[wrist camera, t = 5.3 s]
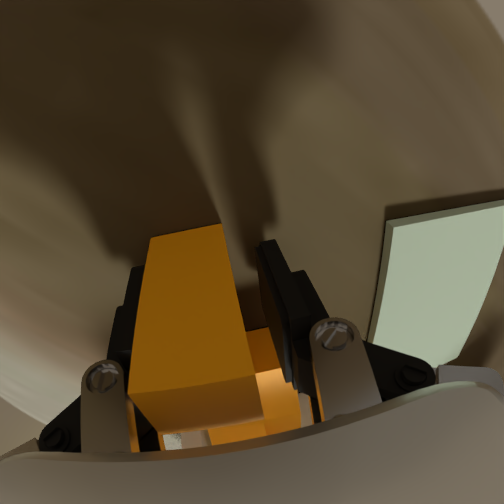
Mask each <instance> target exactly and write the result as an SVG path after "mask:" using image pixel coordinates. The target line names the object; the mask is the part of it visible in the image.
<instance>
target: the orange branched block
mask: <svg viewBox="0 0 504 504" xmlns="http://www.w3.org/2000/svg"><path fill="white" fill-rule="evenodd" d="M128 395H129V397H130V398H131V399H132V401H133V402H134V403H135V404H136V406H137V407H138V408H139V410H140V411H141V412H142V413H143V415H144V416H145V417H146V418H147V420H148V421H149V422H150V423H151V425H152V426H153V427H154V428H155V429H156V431H157V432H158V433H159V434H160V435H165V434H175V433H184V432H192V431H200V430H208V433H209V436H210V440H211V444H212V445H218V444H225V443H231V442H237V441H242V440H248V439H253V438H258V437H263V436H268V435H272V434H277V433H281V432H285V431H290V430H294V429H298V428H301V411H300V405H299V399H298V392H297V390H294V388H293V385H292V382H289V383H286V382H285V379H284V376H283V373H282V370H281V367H280V363H279V360H278V357H277V354H276V350H275V347H274V344H273V341H272V337H271V334H270V331H269V327H267V328H262V329H257V330H253V331H248V332H245V328H244V323H243V319H242V315H241V310H240V306H239V301H238V297H237V292H236V288H235V283H234V279H233V274H232V269H231V265H230V260H229V256H228V251H227V246H226V242H225V237H224V232H223V227H222V223H221V224H216V225H210V226H206V227H201V228H196V229H191V230H186V231H181V232H176V233H171V234H167V235H162V236H157V237H153V238H151V239H150V244H149V249H148V254H147V259H146V264H145V270H144V275H143V281H142V287H141V292H140V299H139V305H138V311H137V318H136V325H135V332H134V339H133V347H132V356H131V364H130V374H129V384H128Z"/></svg>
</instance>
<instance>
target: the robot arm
mask: <svg viewBox="0 0 504 504" xmlns="http://www.w3.org/2000/svg"><path fill="white" fill-rule="evenodd" d="M255 256H256V263H257V271H258V278H259V285H260V292H261V300H262V306H263V311H264V314H265V318H266V321H267V324H268V327H269V331H270V334H271V337H272V341H273V344H274V347H275V350H276V354H277V357H278V360H279V363H280V367H281V370H282V373H283V376H284V379H285V382H286V383H289V382H292V385H293V388H294V390H297V389H298V391H299V392H301V393H304V394H306V395H308V399H309V405H310V412H311V418H312V425H309V426H305V427H302V428H298V429H294V430H290V431H285V432H281V433H277V434H272V435H268V436H263V437H258V438H253V439H248V440H242V441H237V442H231V443H225V444H218V445H211V446H204V447H196V448H187V449H177V450H166V449H165V445H164V440H163V435H160V434H159V433H158V432H157V431H156V429H155V428H154V427H153V426H152V425H151V423H150V422H149V421H148V420H147V418H146V417H145V416H144V415H143V413H142V412H141V411H140V410H139V408H138V407H137V406H136V404H135V403H134V402H133V401H132V399H131V398H130V397H129V395H128V384H129V374H130V364H131V356H132V347H133V339H134V332H135V325H136V318H137V311H138V305H139V299H140V292H141V287H142V281H143V275H144V270H145V265H143V266H138V267H133V268H132V269H131V272H130V277H129V281H128V285H127V290H126V294H125V299H124V304H123V306H119V307H117V310H116V313H115V318H114V323H113V327H112V332H111V337H110V342H109V348H108V353H107V359H106V360H101V361H99V362H96V363H94V364H93V365H91V366H90V367H89V368H88V369H87V370H86V371H85V373H84V375H83V377H82V382H81V395H80V396H79V397H78V398H77V399H76V400H75V401H74V402H73V403H71V404H70V405H69V406H68V407H67V408H66V409H65V410H63V411H62V412H61V413H60V414H59V415H58V416H57V417H56V418H54V419H53V420H52V421H51V422H50V423H49V424H48V425H46V427H45V428H44V429H43V430H42V432H41V434H40V437H39V440H37V439H36V438H33V439H32V440H30V441H28V442H26V443H25V444H22V445H20V446H19V447H17V448H15V449H13V450H11V451H9V452H7V453H5V454H4V455H2V456H0V504H504V385H503V381H502V378H501V376H500V375H499V374H498V372H496V371H495V370H493V369H491V368H487V367H468V366H452V365H438V367H437V368H433V367H431V365H430V364H428V363H427V362H426V361H424V360H422V359H420V358H417V357H414V356H411V355H407V354H404V353H401V352H398V351H395V350H391V349H388V348H385V347H382V346H379V345H376V344H373V343H370V342H367V341H364V340H362V339H361V336H360V333H359V331H358V329H357V327H356V326H355V325H354V324H353V323H352V322H350V321H348V320H346V319H343V318H337V317H335V318H330V317H329V315H328V313H327V311H326V310H325V308H324V306H323V304H322V302H321V300H320V298H319V296H318V294H317V292H316V291H315V289H314V287H313V285H312V283H311V281H310V279H309V277H308V275H307V274H306V272H305V271H304V270H301V271H296V272H291V271H290V269H289V267H288V265H287V263H286V261H285V259H284V257H283V255H282V252H281V250H280V248H279V246H278V244H277V242H276V240H275V239H273V240H268V241H262V242H260V246H258V247H255Z"/></svg>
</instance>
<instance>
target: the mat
mask: <svg viewBox="0 0 504 504" xmlns="http://www.w3.org/2000/svg"><path fill="white" fill-rule="evenodd" d="M503 246H504V200H499V201H493V202H487V203H482V204H476V205H471V206H465V207H460V208H454V209H449V210H443V211H438V212H432V213H427V214H421V215H416V216H410V217H405V218H399V219H394V220H388V221H386V229H385V237H384V246H383V253H382V261H381V268H380V275H379V281H378V287H377V293H376V299H375V305H374V310H373V315H372V320H371V325H370V330H369V335H368V340H367V342H370V343H373V344H376V345H379V346H382V347H385V348H388V349H391V350H395V351H398V352H401V353H404V354H407V355H411V356H414V357H417V358H420V359H422V360H424V361H426V362H427V363H428V364H430V365H431V367H433V368H436V367H438V365H443V364H445V363H447V362H449V361H451V360H453V359H455V358H457V357H458V355H459V354H460V352H461V350H462V348H463V346H464V344H465V342H466V340H467V338H468V335H469V333H470V331H471V329H472V327H473V325H474V323H475V320H476V318H477V316H478V314H479V311H480V309H481V307H482V304H483V302H484V299H485V297H486V294H487V292H488V289H489V287H490V284H491V281H492V279H493V276H494V273H495V270H496V267H497V264H498V261H499V258H500V255H501V252H502V249H503Z"/></svg>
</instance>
